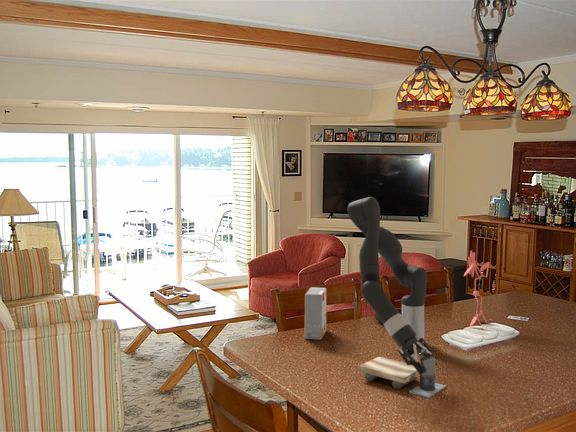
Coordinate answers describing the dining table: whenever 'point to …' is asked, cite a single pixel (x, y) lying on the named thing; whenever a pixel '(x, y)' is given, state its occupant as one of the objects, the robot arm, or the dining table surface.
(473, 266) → the figurine
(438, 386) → the slate-grey pad
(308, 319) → the hard drive box
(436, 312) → the dining table surface
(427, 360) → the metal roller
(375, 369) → the birch slab
